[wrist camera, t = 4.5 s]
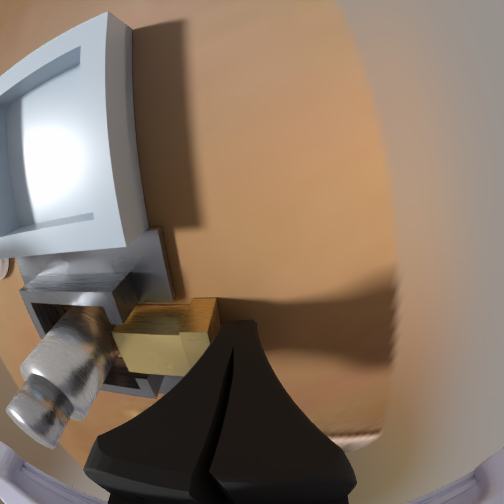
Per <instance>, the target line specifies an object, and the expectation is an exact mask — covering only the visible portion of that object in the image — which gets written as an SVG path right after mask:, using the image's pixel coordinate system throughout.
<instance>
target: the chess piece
mask: <svg viewBox="0 0 504 504" xmlns="http://www.w3.org/2000/svg"><path fill="white" fill-rule="evenodd" d="M8 267H9V258H6V259H0V279H2V278H4V277H5V276H6V274H7V271H8Z"/></svg>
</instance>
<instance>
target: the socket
mask: <svg viewBox="0 0 504 504" xmlns="http://www.w3.org/2000/svg"><path fill="white" fill-rule="evenodd" d="M15 258H16V261H17V264H18V267H19V270H20V273H21V276H22V278H23V281H24V284H25V286H24V287H23V288H21V289H20V290H19V292H20V294H21V296H22V299H23V301H24V304H25V306H26V308H27V311H28V313H29V315H30V317H31V319H32V321H33V323H34V326H35V328H36V330H37V332H38V334H39V336H40V337H41V339H43V338H44V337H45V335H46V334H47V333H48V332H49V331H50V330H51V329H52V328H53V326H54V325H55V324H56V323H57V322H58V321H59V320H60V319H61V318H62V316H63V315H64V314H65V311H64V309H63V306H62V305H79V306H104V309H105V311H106V314H107V317H108V319H109V322H110V324H116V325H124V323H125V321H126V320H127V318H128V317H129V315H130V314H131V312H132V311H133V309H134V308H135V307H136V305H137V304H138V302H174V300H175V298H176V295H175V290H174V286H173V282H172V277H171V273H170V268H169V264H168V259H167V254H166V249H165V244H164V239H163V233H162V228H161V226H159V227H150V228H148V229H147V230H146V231H144V232H143V233H142V234H141V235H140V236H139V237H137V238H136V239H135V240H134V241H133V242H131V243H130V244H129V245H128V246H127V247H120V248H108V249H97V250H86V251H75V252H65V253H54V254H44V255H34V256H25V257H15ZM183 377H184V376H169V375H157V374H146V373H136V372H129V370H128V368H127V366H126V364H125V362H124V360H123V358H117V359H116V360H115V362H114V364H113V366H112V368H111V369H110V371H109V373H108V375H107V377H106V378H105V380H104V382H103V384H102V386H101V388H100V390H104V391H109V392H114V393H120V394H126V395H132V396H139V397H146V398H154V399H157V396H158V393H163V394H166V393H168V392H169V391H170V390H171V389H172V388H173V387H174V386H175V385H176V384H177V383H178V382H179V381H180V380H181V379H182V378H183Z"/></svg>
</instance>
